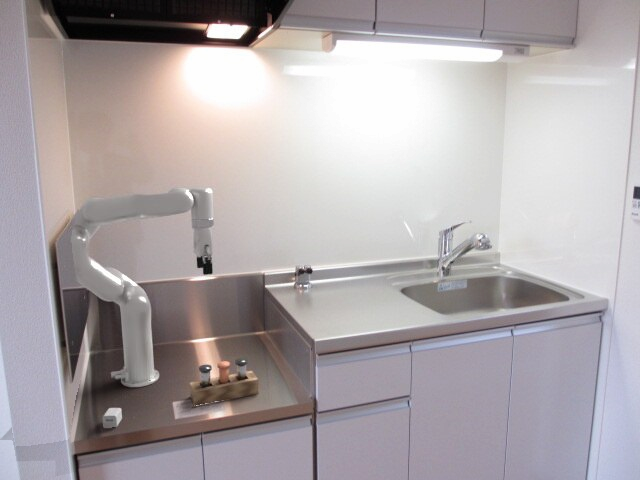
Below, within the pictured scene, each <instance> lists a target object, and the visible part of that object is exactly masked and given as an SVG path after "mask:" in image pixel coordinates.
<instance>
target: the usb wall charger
mask: <svg viewBox="0 0 640 480" xmlns="http://www.w3.org/2000/svg"><path fill="white" fill-rule="evenodd" d="M122 412H123V411H122V408H121V407H109V408H108V409H107V410H106V412H105V413H104V414H103V416H102V426H103V428H104V429H113V428H112V427H116V428H118V426H119V424H120V423H121V421H122V420H123V414H122Z"/></svg>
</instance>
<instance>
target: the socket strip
mask: <svg viewBox="0 0 640 480" xmlns="http://www.w3.org/2000/svg"><path fill="white" fill-rule="evenodd" d="M246 378H247V379H245V380H240V381H238V380H237V373H232V374H229V383H225V384H220V380H219V376H216V377H212V378H211V377H210V380H211V386H210V387H205V388H201V379H200V380H196V381H192V382H191V381H190V382H189V395H190V399H191V401H193V402H192V404H193V403H194V404H193V406H194V405H195V406H196V405H200V404H205V403H210V404H212V403H211V402H215V401H220V402H223V401H222V400H224V401H229V400H233V399H232V398H234V399H238V398H243V397H246V396H251V395H257V394H259V379H258V377H257V376H256V374H255V373H254V372H253V370H246ZM237 397H238V398H237ZM228 399H229V400H228ZM215 403H216V402H215ZM195 406H194V407H195ZM196 407H197V406H196Z"/></svg>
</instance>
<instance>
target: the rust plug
mask: <svg viewBox="0 0 640 480" xmlns="http://www.w3.org/2000/svg"><path fill="white" fill-rule="evenodd" d="M230 363H231V362H230V361H226V360H225V361H224V360H223V361H218V362H217V368H218V375H219V376H218V377H219V380H220V384H225V383H229V375H230V374H229V373H230V372H229V368H230V366H231V364H230Z"/></svg>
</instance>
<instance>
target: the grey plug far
mask: <svg viewBox="0 0 640 480" xmlns="http://www.w3.org/2000/svg"><path fill="white" fill-rule="evenodd" d="M248 361H249V360H248V358H245V357H239V358H237V359H235V363H234V364H235V365H236V370H237V371H236V374H237V380H238V381H240V380H245V379H247V378H246V372H247V364H248Z"/></svg>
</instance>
